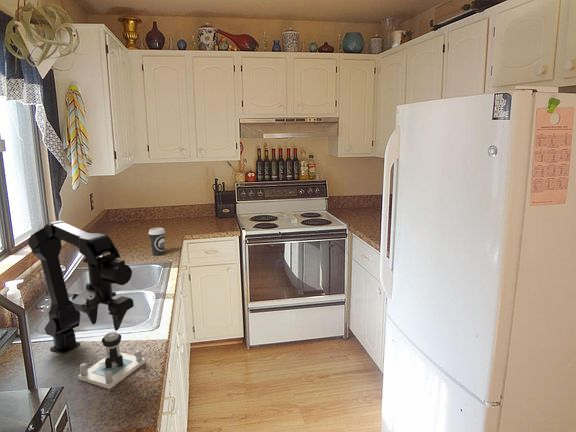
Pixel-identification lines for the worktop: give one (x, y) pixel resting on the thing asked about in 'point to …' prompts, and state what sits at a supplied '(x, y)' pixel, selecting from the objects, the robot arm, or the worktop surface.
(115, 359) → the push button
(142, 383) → the worktop surface
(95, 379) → the board
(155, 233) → the coffee cup
